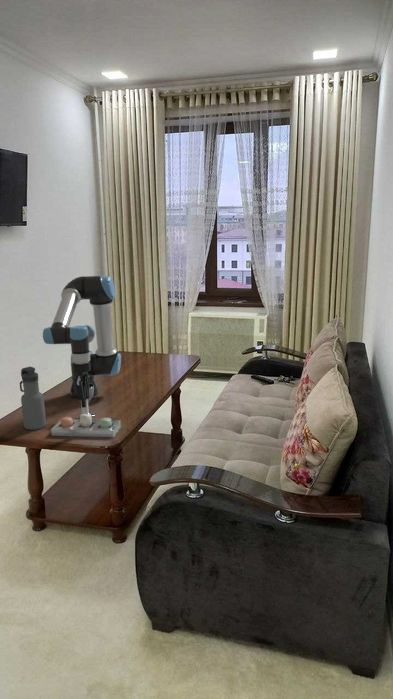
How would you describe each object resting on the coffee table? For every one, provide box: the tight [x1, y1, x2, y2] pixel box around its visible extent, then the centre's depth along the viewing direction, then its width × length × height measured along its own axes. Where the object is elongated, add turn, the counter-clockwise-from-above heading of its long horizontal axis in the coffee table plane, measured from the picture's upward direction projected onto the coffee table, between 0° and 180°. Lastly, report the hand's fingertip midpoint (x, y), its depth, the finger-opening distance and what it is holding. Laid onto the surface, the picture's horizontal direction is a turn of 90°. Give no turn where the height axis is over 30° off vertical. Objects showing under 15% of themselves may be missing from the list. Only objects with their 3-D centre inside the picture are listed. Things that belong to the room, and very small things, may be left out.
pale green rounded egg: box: [99, 417, 112, 428], centre depth 225 cm, size 5×5×5 cm
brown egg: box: [60, 416, 73, 427], centre depth 227 cm, size 5×5×5 cm
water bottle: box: [19, 366, 47, 431], centre depth 230 cm, size 10×10×28 cm
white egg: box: [79, 413, 93, 427], centre depth 226 cm, size 5×5×5 cm
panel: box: [50, 418, 122, 438], centre depth 226 cm, size 12×28×3 cm, turn 83°
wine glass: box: [87, 383, 96, 417], centre depth 244 cm, size 8×8×15 cm
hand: (85, 413), depth 224 cm, fingers closed
